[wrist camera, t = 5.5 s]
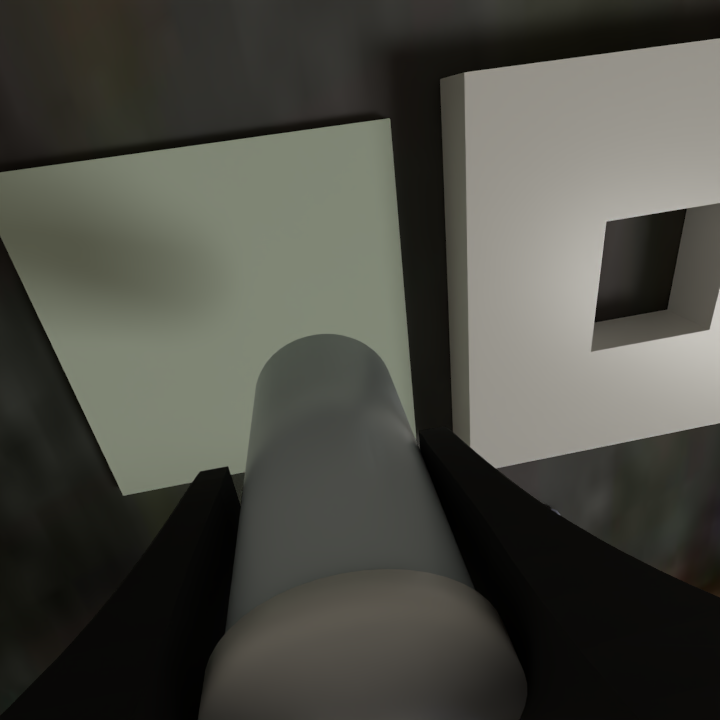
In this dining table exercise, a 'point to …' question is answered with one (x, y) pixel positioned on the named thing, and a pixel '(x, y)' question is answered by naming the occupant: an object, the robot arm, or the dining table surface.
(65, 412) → the dining table surface
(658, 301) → the dining table surface
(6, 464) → the dining table surface
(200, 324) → the mat
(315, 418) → the cartridge
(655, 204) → the housing
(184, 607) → the robot arm
